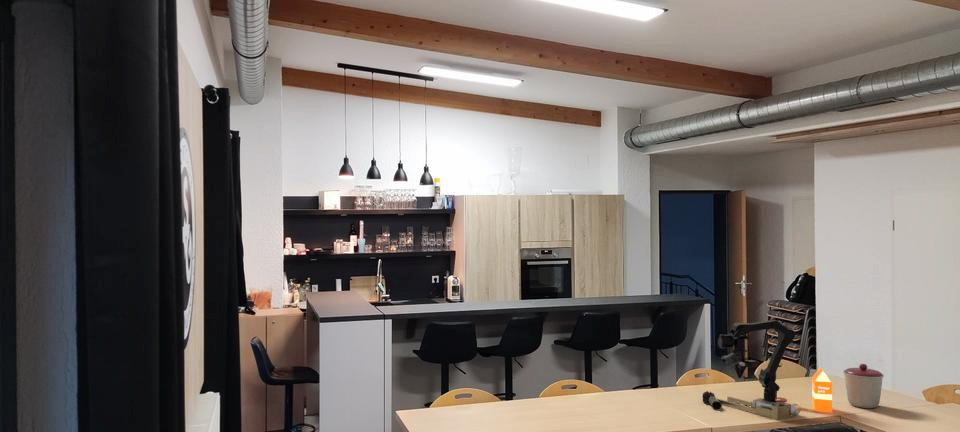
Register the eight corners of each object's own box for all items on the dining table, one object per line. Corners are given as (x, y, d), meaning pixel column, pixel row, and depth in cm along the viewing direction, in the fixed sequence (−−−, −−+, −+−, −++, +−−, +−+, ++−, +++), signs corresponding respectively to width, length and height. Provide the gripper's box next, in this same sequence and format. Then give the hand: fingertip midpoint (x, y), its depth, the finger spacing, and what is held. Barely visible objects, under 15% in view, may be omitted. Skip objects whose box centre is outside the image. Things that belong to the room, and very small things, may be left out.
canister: (888, 405, 342) (888, 363, 342) (879, 412, 329) (879, 369, 329) (848, 399, 354) (848, 358, 354) (838, 406, 341) (838, 364, 341)
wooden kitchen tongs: (736, 398, 355) (736, 381, 355) (800, 415, 324) (800, 397, 324) (716, 403, 347) (716, 385, 347) (779, 420, 316) (779, 401, 316)
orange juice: (829, 407, 338) (829, 367, 338) (832, 412, 329) (832, 371, 330) (812, 406, 340) (811, 366, 341) (814, 411, 332) (814, 370, 332)
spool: (759, 410, 334) (759, 398, 334) (778, 414, 326) (778, 402, 326) (753, 411, 330) (752, 400, 331) (772, 416, 322) (772, 404, 322)
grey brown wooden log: (721, 410, 335) (721, 398, 335) (707, 409, 335) (707, 398, 335) (713, 400, 352) (713, 389, 352) (700, 400, 353) (700, 389, 353)
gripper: (714, 346, 354) (714, 376, 354) (744, 352, 338) (745, 383, 338) (728, 344, 360) (728, 374, 359) (759, 350, 344) (759, 380, 344)
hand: (739, 378), depth 350 cm, fingers closed
